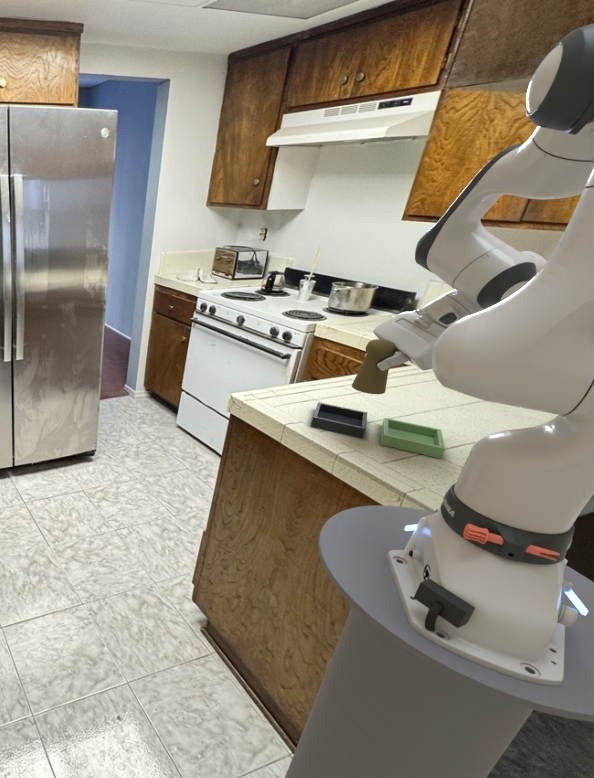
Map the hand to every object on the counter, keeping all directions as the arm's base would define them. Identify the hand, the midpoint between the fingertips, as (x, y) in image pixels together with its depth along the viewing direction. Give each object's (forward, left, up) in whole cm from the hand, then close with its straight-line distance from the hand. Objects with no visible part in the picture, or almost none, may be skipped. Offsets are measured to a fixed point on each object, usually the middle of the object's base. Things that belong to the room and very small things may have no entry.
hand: (372, 363), depth 100 cm
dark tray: (+10, +3, -20) cm, 22 cm away
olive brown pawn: (0, -1, -6) cm, 6 cm away
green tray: (+9, -11, -20) cm, 24 cm away
